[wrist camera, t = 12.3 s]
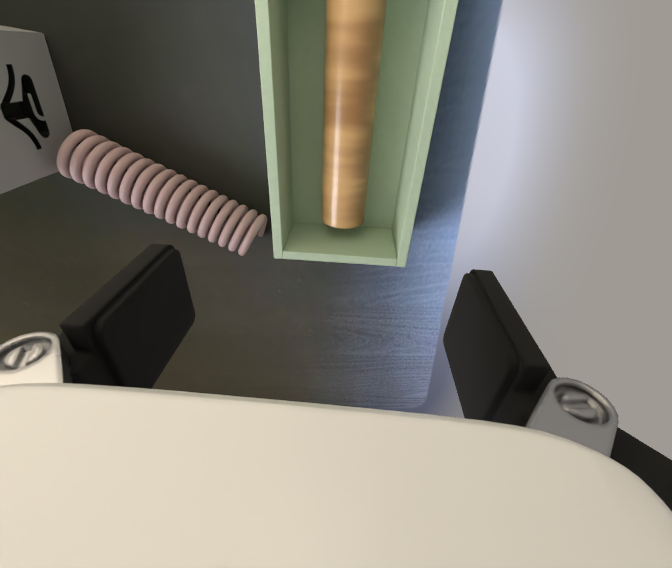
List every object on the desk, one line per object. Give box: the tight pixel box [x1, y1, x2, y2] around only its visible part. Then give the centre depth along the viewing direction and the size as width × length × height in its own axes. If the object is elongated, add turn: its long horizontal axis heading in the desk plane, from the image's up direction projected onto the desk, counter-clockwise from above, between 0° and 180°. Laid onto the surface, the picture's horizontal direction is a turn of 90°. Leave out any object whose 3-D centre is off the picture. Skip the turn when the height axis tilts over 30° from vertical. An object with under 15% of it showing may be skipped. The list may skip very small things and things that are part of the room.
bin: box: [255, 0, 459, 267], centre depth 25 cm, size 12×22×7 cm, turn 177°
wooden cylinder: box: [321, 0, 387, 229], centre depth 26 cm, size 16×4×4 cm
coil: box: [57, 129, 267, 256], centre depth 31 cm, size 5×5×18 cm
